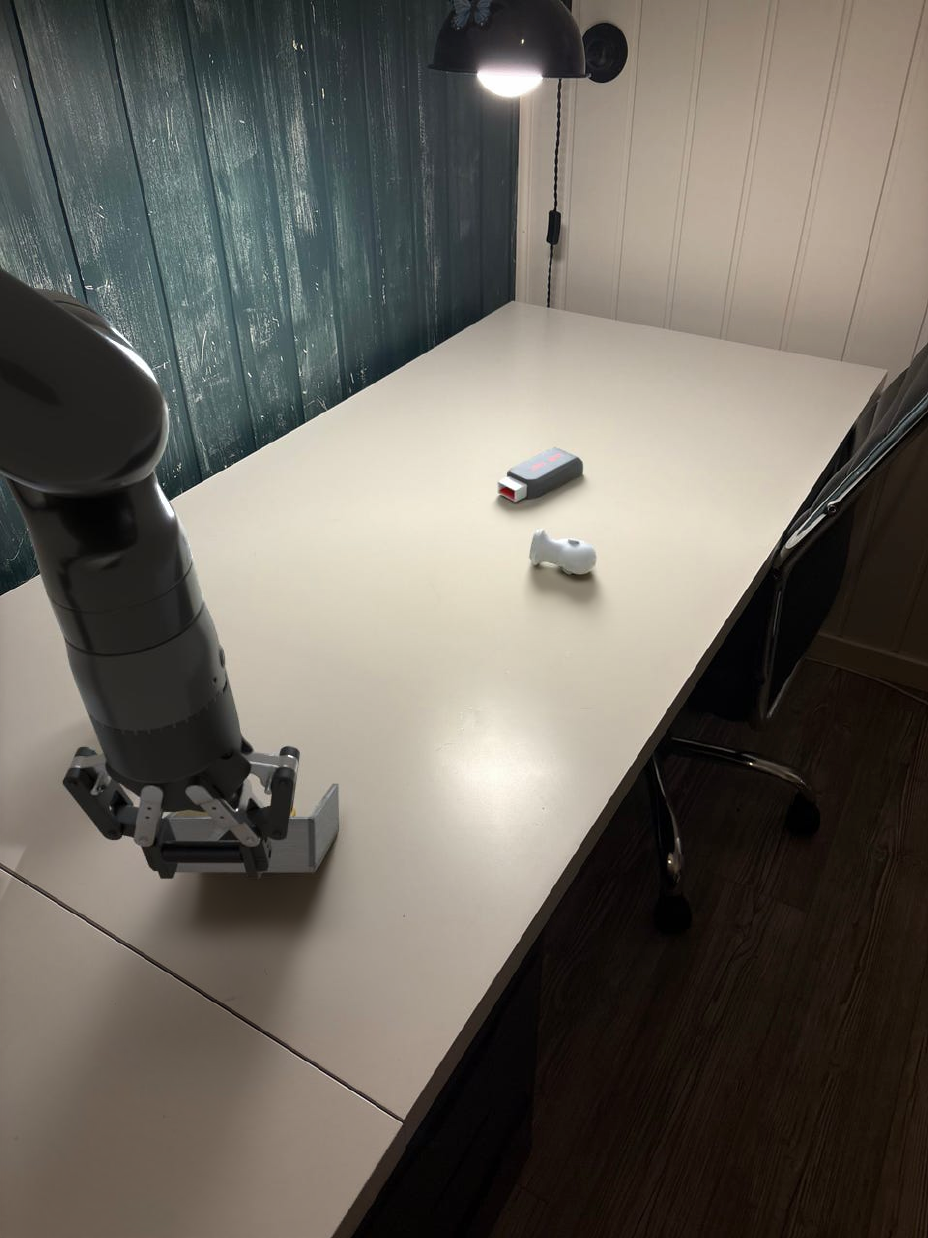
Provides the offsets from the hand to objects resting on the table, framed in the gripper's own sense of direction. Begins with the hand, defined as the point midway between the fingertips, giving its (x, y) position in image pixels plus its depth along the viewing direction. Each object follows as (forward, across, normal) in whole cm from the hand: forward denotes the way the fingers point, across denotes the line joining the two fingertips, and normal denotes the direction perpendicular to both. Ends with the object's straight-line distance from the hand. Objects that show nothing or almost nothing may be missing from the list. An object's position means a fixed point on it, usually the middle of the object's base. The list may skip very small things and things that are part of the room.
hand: (214, 867), depth 60 cm
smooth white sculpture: (+13, +27, +51) cm, 59 cm away
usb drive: (+13, +25, +70) cm, 75 cm away
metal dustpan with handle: (+6, 0, +4) cm, 8 cm away
